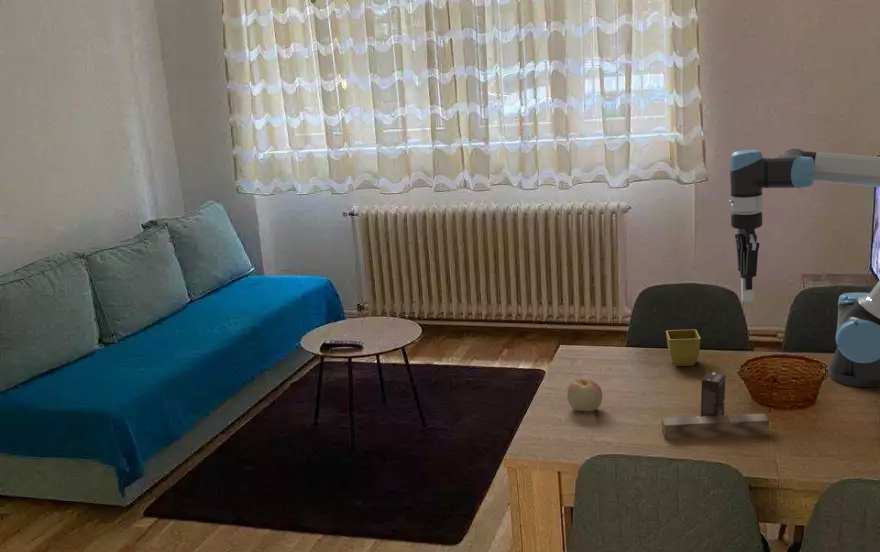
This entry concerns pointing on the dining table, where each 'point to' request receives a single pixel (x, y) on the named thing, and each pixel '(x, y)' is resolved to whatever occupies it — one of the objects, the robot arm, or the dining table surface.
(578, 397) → the apple
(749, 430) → the grey long bar
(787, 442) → the dining table surface
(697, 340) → the flower pot
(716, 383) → the box
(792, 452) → the dining table surface
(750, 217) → the robot arm
